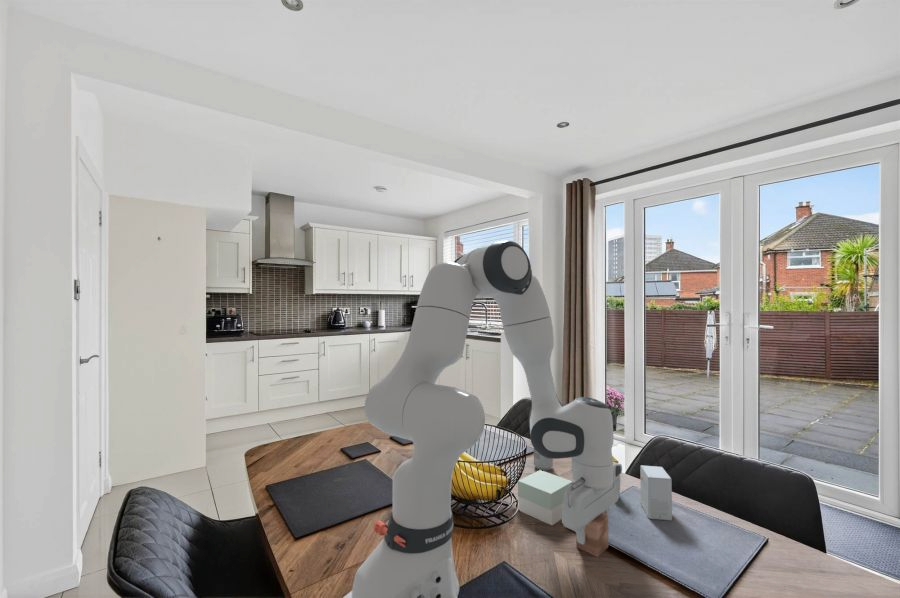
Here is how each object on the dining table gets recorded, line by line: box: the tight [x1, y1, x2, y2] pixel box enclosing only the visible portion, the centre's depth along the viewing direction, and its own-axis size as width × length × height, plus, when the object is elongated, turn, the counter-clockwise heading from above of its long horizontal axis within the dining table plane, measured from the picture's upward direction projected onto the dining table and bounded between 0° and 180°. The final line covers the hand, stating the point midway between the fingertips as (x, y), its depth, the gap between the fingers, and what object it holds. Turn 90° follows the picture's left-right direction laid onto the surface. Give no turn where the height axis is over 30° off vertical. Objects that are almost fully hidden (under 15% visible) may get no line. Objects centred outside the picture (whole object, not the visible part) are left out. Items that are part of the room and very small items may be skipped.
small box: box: [639, 465, 673, 521], centre depth 107 cm, size 8×6×10 cm
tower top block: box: [517, 470, 574, 510], centre depth 108 cm, size 10×10×4 cm
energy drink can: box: [533, 448, 554, 472], centre depth 135 cm, size 6×6×15 cm
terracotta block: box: [575, 513, 609, 558], centre depth 92 cm, size 5×5×7 cm
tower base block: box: [517, 496, 563, 526], centre depth 108 cm, size 10×10×4 cm
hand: (591, 533), depth 92 cm, fingers open, 8 cm apart
